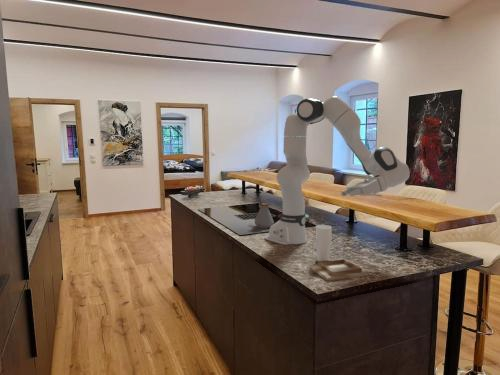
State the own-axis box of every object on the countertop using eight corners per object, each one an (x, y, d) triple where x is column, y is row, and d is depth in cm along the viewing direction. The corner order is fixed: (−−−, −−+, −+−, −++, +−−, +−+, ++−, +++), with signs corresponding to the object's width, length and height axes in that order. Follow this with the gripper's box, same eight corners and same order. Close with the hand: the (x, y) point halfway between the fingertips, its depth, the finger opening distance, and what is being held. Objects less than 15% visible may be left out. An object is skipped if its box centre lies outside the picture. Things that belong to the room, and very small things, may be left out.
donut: (288, 219, 235) (288, 213, 234) (307, 218, 236) (307, 212, 235) (292, 223, 223) (292, 217, 222) (311, 223, 224) (311, 216, 223)
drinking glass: (313, 262, 154) (314, 228, 151) (316, 257, 160) (317, 224, 158) (329, 264, 151) (330, 229, 149) (332, 259, 157) (332, 225, 155)
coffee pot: (275, 228, 211) (275, 203, 209) (256, 229, 209) (256, 203, 207) (268, 220, 232) (268, 197, 229) (250, 221, 230) (250, 197, 228)
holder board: (310, 268, 147) (310, 261, 147) (349, 263, 152) (349, 256, 152) (327, 280, 134) (327, 273, 134) (369, 275, 139) (369, 268, 139)
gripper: (361, 177, 168) (334, 188, 167) (383, 175, 148) (352, 187, 146) (366, 190, 168) (339, 200, 167) (388, 190, 148) (357, 202, 147)
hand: (345, 194), depth 156 cm, fingers open, 8 cm apart
